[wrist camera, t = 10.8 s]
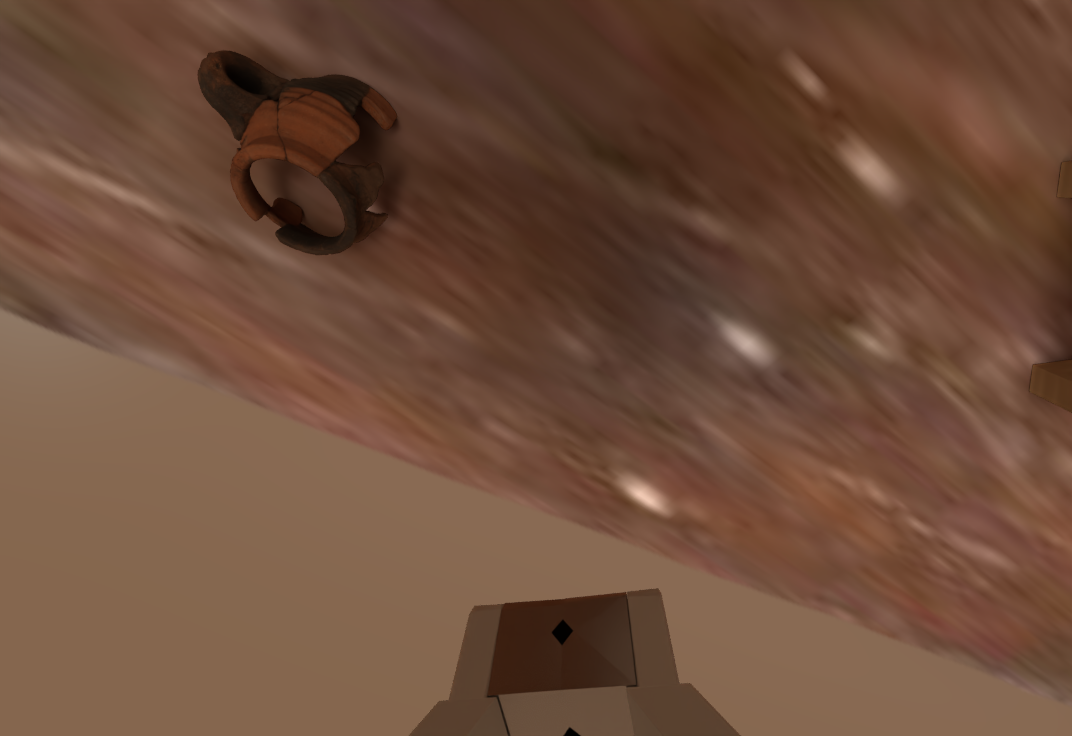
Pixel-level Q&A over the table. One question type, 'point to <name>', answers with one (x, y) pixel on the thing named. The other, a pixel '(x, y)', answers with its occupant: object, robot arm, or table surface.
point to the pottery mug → (298, 142)
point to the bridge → (1061, 379)
